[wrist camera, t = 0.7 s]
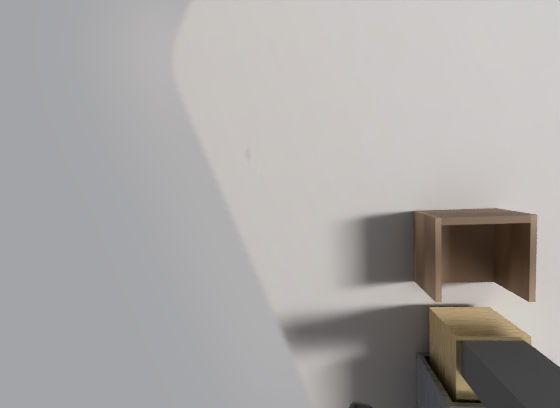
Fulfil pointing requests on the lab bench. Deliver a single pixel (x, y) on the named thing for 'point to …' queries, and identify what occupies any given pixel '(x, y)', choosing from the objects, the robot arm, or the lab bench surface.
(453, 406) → the grey end cap
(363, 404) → the robot arm
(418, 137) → the lab bench surface
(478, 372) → the grey and tan block
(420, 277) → the socket
